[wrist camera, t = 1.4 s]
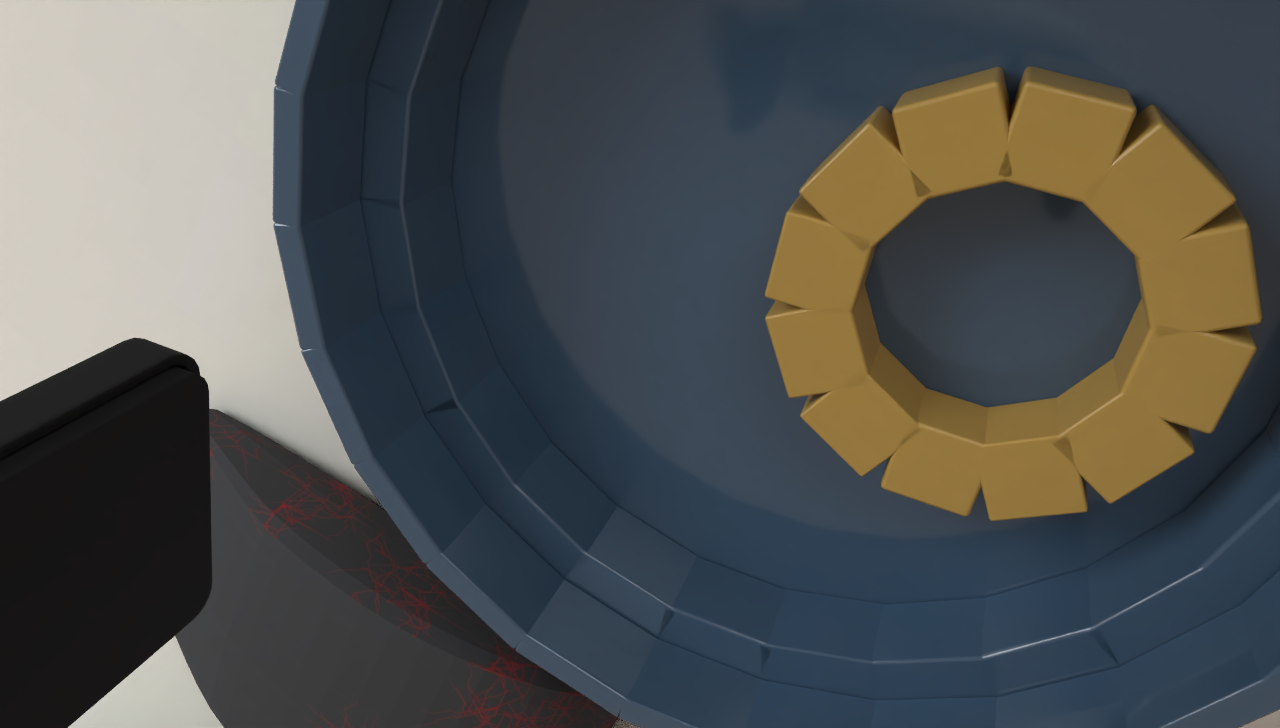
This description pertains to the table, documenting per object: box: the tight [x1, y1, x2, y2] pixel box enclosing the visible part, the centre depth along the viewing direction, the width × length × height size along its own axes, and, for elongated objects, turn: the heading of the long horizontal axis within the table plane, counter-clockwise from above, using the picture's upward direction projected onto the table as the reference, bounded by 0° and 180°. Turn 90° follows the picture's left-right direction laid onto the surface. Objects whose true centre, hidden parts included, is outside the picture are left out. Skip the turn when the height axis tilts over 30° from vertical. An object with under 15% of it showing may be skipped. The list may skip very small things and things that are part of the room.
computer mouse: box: [175, 409, 619, 728], centre depth 27 cm, size 8×14×4 cm, turn 65°
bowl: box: [273, 0, 1280, 728], centre depth 18 cm, size 19×19×4 cm
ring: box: [765, 66, 1263, 521], centre depth 18 cm, size 8×8×2 cm
